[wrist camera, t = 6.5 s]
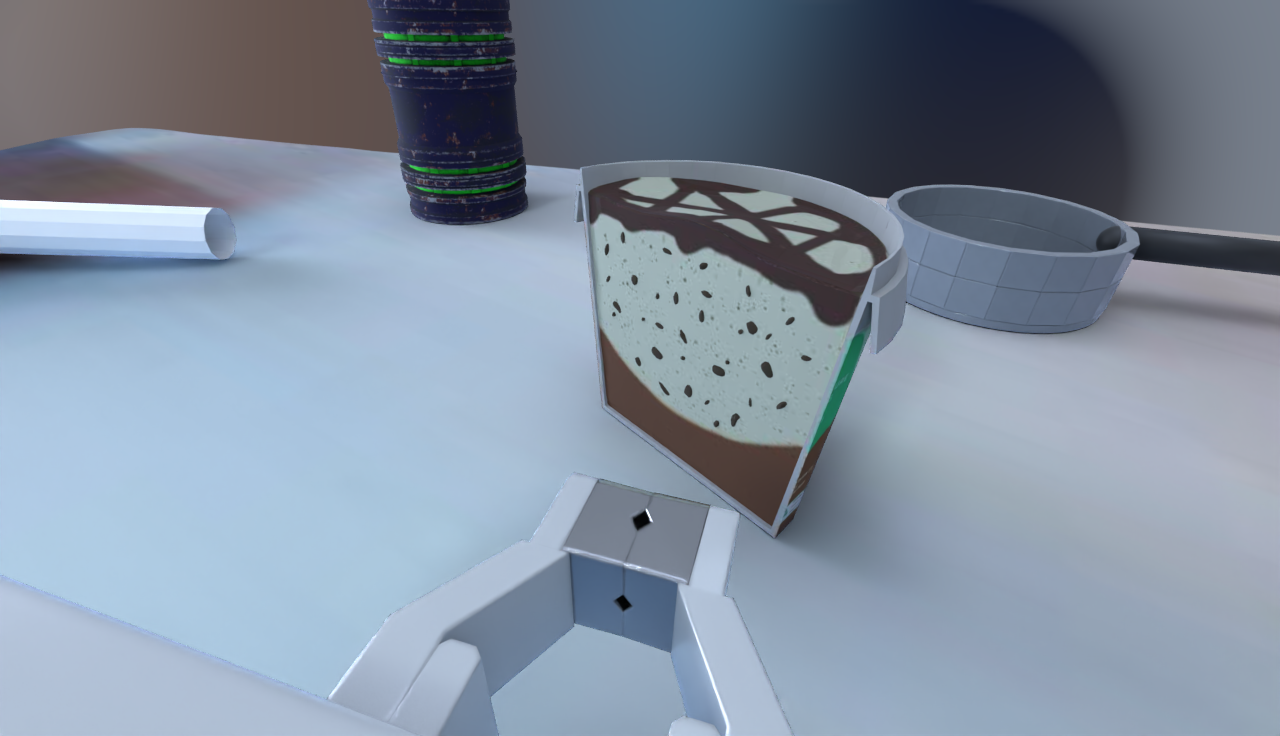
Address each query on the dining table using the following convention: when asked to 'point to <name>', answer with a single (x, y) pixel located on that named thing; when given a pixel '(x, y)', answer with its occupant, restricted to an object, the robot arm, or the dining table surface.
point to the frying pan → (115, 230)
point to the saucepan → (1008, 257)
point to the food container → (736, 315)
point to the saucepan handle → (1199, 250)
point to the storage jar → (454, 106)
